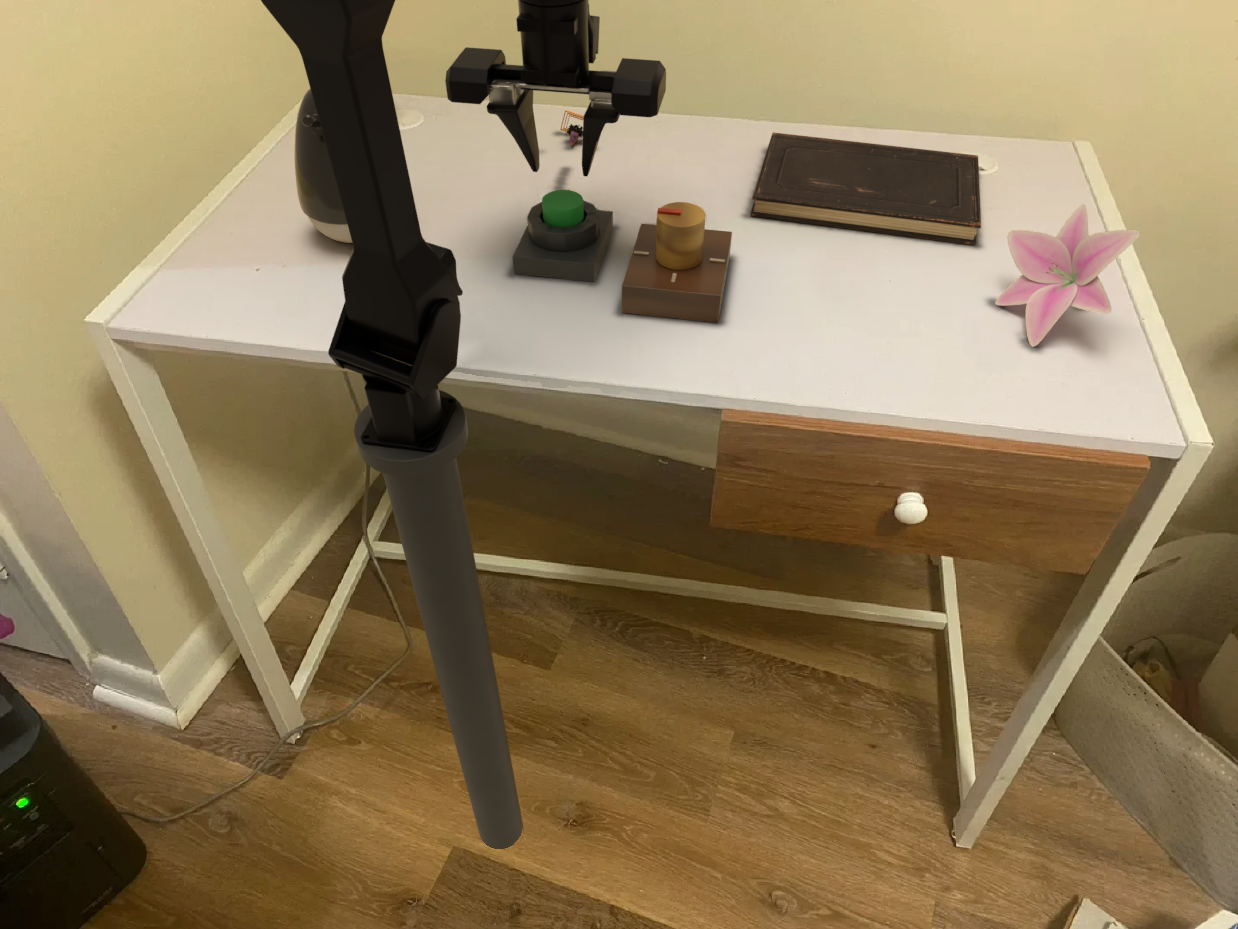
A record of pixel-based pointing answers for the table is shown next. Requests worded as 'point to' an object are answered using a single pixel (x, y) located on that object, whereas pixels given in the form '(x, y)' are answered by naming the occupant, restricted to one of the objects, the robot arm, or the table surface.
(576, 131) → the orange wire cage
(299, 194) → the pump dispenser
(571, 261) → the button base
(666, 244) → the dial
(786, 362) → the table surface
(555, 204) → the button
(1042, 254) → the lily
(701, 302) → the panel
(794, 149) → the hardcover book
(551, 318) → the table surface
